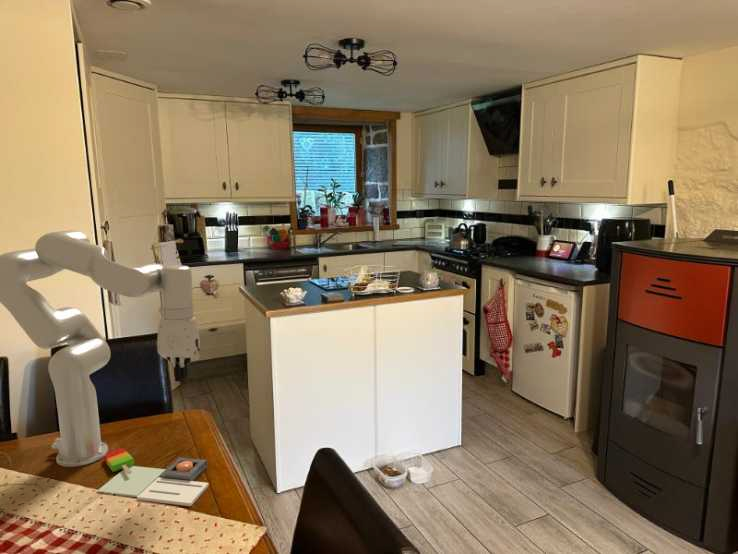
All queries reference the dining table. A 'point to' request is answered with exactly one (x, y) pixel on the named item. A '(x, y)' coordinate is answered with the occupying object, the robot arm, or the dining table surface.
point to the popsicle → (119, 460)
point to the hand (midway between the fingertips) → (181, 379)
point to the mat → (132, 481)
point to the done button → (184, 466)
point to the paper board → (173, 491)
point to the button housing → (188, 476)
